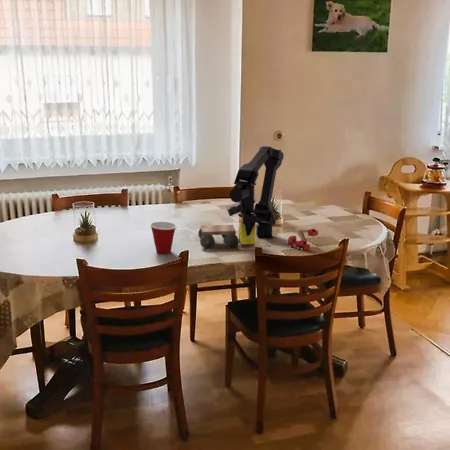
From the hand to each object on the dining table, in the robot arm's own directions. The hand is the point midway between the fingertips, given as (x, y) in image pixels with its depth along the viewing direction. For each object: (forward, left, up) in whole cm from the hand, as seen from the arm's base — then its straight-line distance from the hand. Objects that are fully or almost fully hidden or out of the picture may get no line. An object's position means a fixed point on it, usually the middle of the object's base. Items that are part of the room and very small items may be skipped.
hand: (246, 233), depth 228 cm
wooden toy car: (+12, -5, -6) cm, 14 cm away
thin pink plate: (0, 0, -6) cm, 6 cm away
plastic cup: (+35, +4, -6) cm, 35 cm away
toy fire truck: (-23, +5, -6) cm, 24 cm away
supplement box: (0, 0, -5) cm, 5 cm away
